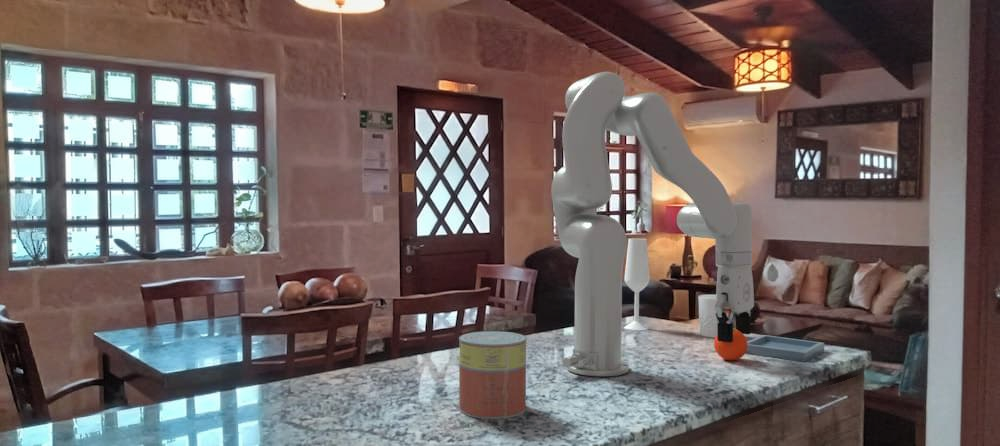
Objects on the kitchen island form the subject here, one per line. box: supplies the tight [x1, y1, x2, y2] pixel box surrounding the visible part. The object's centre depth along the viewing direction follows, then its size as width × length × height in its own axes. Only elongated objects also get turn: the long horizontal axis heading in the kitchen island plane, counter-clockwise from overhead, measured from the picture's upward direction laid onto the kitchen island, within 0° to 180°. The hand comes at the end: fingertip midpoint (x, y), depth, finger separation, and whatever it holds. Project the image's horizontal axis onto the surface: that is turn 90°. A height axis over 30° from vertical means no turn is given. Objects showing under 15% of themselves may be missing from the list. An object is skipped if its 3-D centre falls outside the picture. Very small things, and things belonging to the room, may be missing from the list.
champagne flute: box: [623, 237, 651, 331], centre depth 192 cm, size 7×7×24 cm
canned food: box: [458, 330, 528, 420], centre depth 119 cm, size 11×11×12 cm
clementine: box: [713, 327, 748, 362], centre depth 156 cm, size 8×7×7 cm
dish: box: [745, 334, 825, 363], centre depth 163 cm, size 14×14×2 cm
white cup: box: [697, 294, 728, 339], centre depth 182 cm, size 8×8×10 cm
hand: (734, 337), depth 156 cm, fingers open, 9 cm apart
